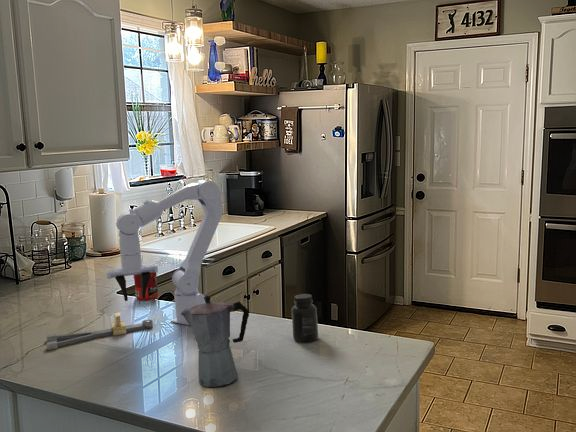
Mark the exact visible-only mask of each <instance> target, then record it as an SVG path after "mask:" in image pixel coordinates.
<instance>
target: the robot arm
mask: <svg viewBox="0 0 576 432" xmlns="http://www.w3.org/2000/svg"><path fill="white" fill-rule="evenodd" d="M222 195H223V192H222V190H221V189H220V187H219V185H218V184H217V182H215V181H213V180H206V179H198V180H196V181H195V182H190V183H189V184H187V185H185V186H183V187H181V188H179V189H178V190H176V191H174V192H172V193H170V194H169V195H167V196H165V197H163V198H162V199H160V200H158V201H156V200H153V199H151V200H145V201H143V204H141V205H139V206H137V207H135V208H134V209H133V208H130V209H129V210H128V211H129V212H124V213H122V214H120V215H118V217H117V219H116V223H115V226H116V228H117V229H118V237H119V241H118V242H119V243H118V244H119V253H120V262H121V263H120V264H121V268H117V269H113V270H108V271H105V272H106V273H105V275H106V279H107V280H111V279H113V278H115V280H116V281H117V284H118V285H119V287H120V289H121V291H122V296H123V300H124V301H125V302H128V299H129V298H128V293H127V280H126V278H125V277H129V276H130V277H131V276H134V275H137V274H140V280H141V294H142V298H145V294H146V288H147V285H148V282H149V279H150V273H151V272H156V273H158V271H159V270H158V265H157V264H151V265H149V264H148V265H143V264H142V253H141V244H140V237H139V229H140V228H143V227H145V226H147V225H148V224H150V223H152V222H155V220H158V219H160V218H162V215H163V212H164V211H166V210H168V209H171V208H172V207H174V206H176V205H179V204H181V203H182V202H185V201H187V200H193V201H198V202H199V203H200V204H201V207H202V208H203V211H204V214H203V217H202V219H201V222H200V223H199V225H198V228H197V230H196V233H195V234H194V235H195V236H194V238H193V240H192V242H191V245H190V247H189V250H188V252H187V255H186V257H185V259H184V260H183V261H181V263H180V265H179V267H178V268H177V269H176V270H175V271H174V272H173V274H172V276H171V281H172V284H173V285H174V286H175V290H174V292H173V293H174V294H173V295H174V304H175V316H176V317H175V318H173V319H171V320H170V323H176V324H182V325H187V326H190V325H189V324H188V322H187V321H186V319H185V317H184V316H183V315H181V312H182V311H184V310H185V309H188V308H191V307H194V306H196V305H199V304H203V303H205V300H204V297H205V296H206V295H204V294H202V293H200V292H199V289H198V288H199V286H200V281H199V278H200V276H201V268H202V267H201V266H202V263H203V261H204V260H205V256H206V253H207V252H208V250H209V248H210V244H211V243H212V241H213V238H214V235H215V234H216V230H217V228H218V226H219V223H220V221H221V218H222V216H223V213H224V211H223V210H224V209H223V199H222Z"/></svg>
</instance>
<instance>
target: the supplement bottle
mask: <svg viewBox="0 0 576 432" xmlns="http://www.w3.org/2000/svg"><path fill="white" fill-rule="evenodd" d="M293 298H294V299H293V300H294V302H293V303H294V305H293V306H292V307H291V322H292V337H293V340H294V341H295V342H297V343H300V344H301V343H302V344H305V343H307V344H308V343H312V342H315V341H317V340H318V338H319V329H318V327H319V326H318V310H317V307H316V305H315V304H313V302H314V301H313V295H312V294H308V293H300V294H296V295H294V297H293Z"/></svg>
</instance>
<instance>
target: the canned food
mask: <svg viewBox="0 0 576 432" xmlns="http://www.w3.org/2000/svg"><path fill="white" fill-rule="evenodd" d="M133 279H134V289H135V297H136V300H137V301H140V302H141V301H142V302H146V301H147V302H148V301H152V300H156V299H157V298H158V297H159V290H158V289H159V288H158V276H157V272H151V273H150V279H149V282H148V285H147V288H146V294H145V298H142V294H141V280H140V274H137V275H133Z"/></svg>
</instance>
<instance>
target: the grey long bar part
mask: <svg viewBox="0 0 576 432" xmlns="http://www.w3.org/2000/svg"><path fill="white" fill-rule="evenodd" d="M125 326H126V334H127V333H132V332H137V331H144V330H150V329H153V328H154V324H153V319H148V318H147V319H144V320H142V322H141V323H135V324H129V325H125ZM152 327H153V328H152ZM110 336H113V330H112V328H106V329H100V330H95V331H84V332H77V333H76V332H75V333H68V334H67V333H66V334H60V335H59V334H58V335H57V333H51V334H46V347H47V351H53V350H58V348H62V347H66V346H70V345H74V344H78V343H82V342H86V341H90V340H93V339H98V338H104V337H110Z"/></svg>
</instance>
